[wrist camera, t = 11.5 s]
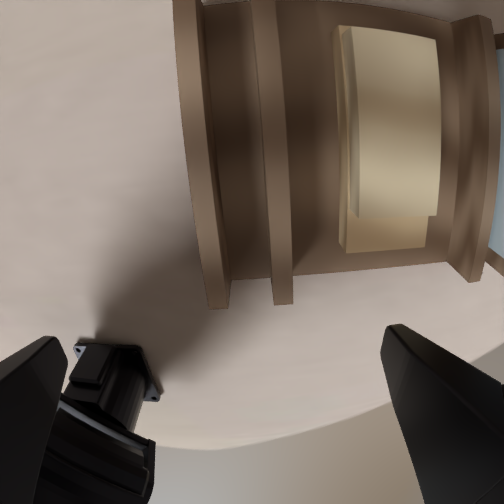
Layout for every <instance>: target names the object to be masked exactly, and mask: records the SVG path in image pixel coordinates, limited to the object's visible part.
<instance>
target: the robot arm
mask: <svg viewBox="0 0 504 504" xmlns="http://www.w3.org/2000/svg"><path fill="white" fill-rule="evenodd" d="M73 349H74V352H75V354H76V356H77V358H78V362H77V364H76V366H75V367H74V369H73V371H72V373H71V374H70V376H69V380H70V382H69V384H68V385H67V387H66V389H65V391H64V393H61V391H62V386H63V382H64V378H65V374H66V370H67V367H68V360H67V357H66V355H65V353H64V351H63V348H62V346H61V344H60V342H59V340H58V339H57V338H56V337H54V336H43V337H41V338H40V339H38V340H36V341H34V342H33V343H31V344H29V345H28V346H26V347H24V348H23V349H21V350H19V351H18V352H16V353H14V354H13V355H11V356H9V357H8V358H6V359H4V360H3V361H1V362H0V504H147V503H148V501H149V499H150V496H151V494H152V490H153V486H154V469H155V445H156V442H155V441H153V440H150V439H146V438H143V437H141V436H139V435H137V434H135V433H134V429H135V426H136V423H137V419H138V416H139V413H140V409H141V406H142V403H143V401H152V402H158V401H159V400H160V393H159V391H158V389H157V386H156V384H155V381H154V379H153V376H152V374H151V371H150V369H149V366H148V364H147V361H146V359H145V356H144V353H143V351H142V349H141V348H140V347H139V346H136V345H110V344H88V343H76V344H75V345H74V347H73ZM135 351H136V352H135ZM380 354H381V360H382V364H383V368H384V372H385V376H386V380H387V384H388V388H389V392H390V396H391V400H392V404H393V407H394V410H395V413H396V416H397V419H398V421H399V424H400V427H401V430H402V433H403V436H404V439H405V442H406V445H407V448H408V451H409V454H410V457H411V460H412V463H413V466H414V469H415V472H416V476H417V479H418V482H419V486H420V489H421V492H422V496H423V499H424V503H425V504H504V384H502V385H501V383H500V382H499V381H497V380H496V379H494V378H492V377H491V376H489V375H487V374H486V373H484V372H482V371H481V370H479V369H477V368H476V367H474V366H472V365H471V364H469V363H467V362H466V361H464V360H462V359H461V358H459V357H457V356H455V355H454V354H452V353H450V352H449V351H447V350H445V349H444V348H442V347H440V346H439V345H437V344H435V343H434V342H432V341H430V340H428V339H427V338H425V337H423V336H422V335H420V334H418V333H417V332H415V331H413V330H411V329H410V328H408V327H406V326H405V325H403V324H395V325H389V326H387V327H386V329H385V333H384V337H383V342H382V346H381V352H380Z"/></svg>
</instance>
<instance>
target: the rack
mask: <svg viewBox="0 0 504 504" xmlns="http://www.w3.org/2000/svg"><path fill="white" fill-rule="evenodd" d="M172 1H173V21H174V37H175V51H176V64H177V76H178V87H179V98H180V108H181V118H182V127H183V136H184V145H185V153H186V162H187V170H188V177H189V185H190V192H191V200H192V207H193V214H194V221H195V227H196V234H197V240H198V247H199V253H200V259H201V265H202V271H203V277H204V283H205V289H206V295H207V300H208V306H209V309H228V304H229V295H230V286H231V280H242V279H257V278H271V282H272V292H273V301H274V305H287V304H293V276H297V275H310V274H322V273H334V272H345V271H356V270H367V269H378V268H388V267H398V266H408V265H418V264H428V263H437V262H448V263H449V264H450V265H451V266H452V267H453V268H454V269H455V270H456V271H457V272H458V273H459V274H460V275H461V276H462V277H463V278H464V279H465V280H466V281H467V282H468V283H471V282H477V281H480V279H481V275H482V271H483V267H484V262H485V261H486V262H487V263H488V264H489V265H490V266H492V267H493V268H494V269H495V270H496V271H497V272H499V273H500V274H501V275H502V276H503V277H504V258H503V257H501V256H500V255H499V254H497V253H496V252H495V251H493V250H492V249H491V248H489V247H488V244H489V239H490V234H491V228H492V222H493V216H494V209H495V202H496V194H497V185H498V175H499V162H500V141H501V105H500V85H499V72H498V62H497V54H496V50H498V49H504V33H501V34H495V35H494V34H493V28H492V22H491V19H489V18H486V17H484V16H481V15H479V14H478V15H475V16H471V17H468V18H465V19H462V20H458V21H455V22H452V23H449V22H446V21H442V20H439V19H435V18H431V17H427V16H423V15H419V14H414V13H410V12H405V11H400V10H394V9H389V8H383V7H376V6H369V5H362V4H353V3H343V2H330V1H312V0H250V1H248V2H235V3H225V4H216V5H209V6H203V4H202V2H201V0H172ZM338 25H343V26H355V27H365V28H373V29H381V30H388V31H394V32H400V33H406V34H411V35H417V36H421V37H426V38H430V39H434V40H435V41H436V49H437V58H438V68H439V81H440V98H441V163H440V181H439V194H438V205H437V214H436V216H428V225H427V233H426V241H425V247H421V248H409V249H397V250H384V251H372V252H359V253H345V251H344V250H343V248H342V246H341V245H340V243H339V208H340V177H339V135H338V113H337V96H336V82H335V69H334V58H333V48H332V39H331V32H332V31H333V30H334V29H335V28H336V27H337V26H338Z"/></svg>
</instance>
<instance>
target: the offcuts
mask: <svg viewBox="0 0 504 504" xmlns="http://www.w3.org/2000/svg"><path fill="white" fill-rule="evenodd" d="M331 39H332V48H333V58H334V69H335V82H336V96H337V113H338V135H339V177H340V208H339V243H340V245H341V246H342V248H343V250H344V251H345V253H359V252H372V251H384V250H397V249H409V248H421V247H425V241H426V233H427V225H428V216H436V214H437V205H438V194H439V181H440V163H441V98H440V81H439V68H438V58H437V49H436V41H435V40H434V39H430V38H426V37H421V36H417V35H411V34H406V33H400V32H394V31H388V30H381V29H373V28H365V27H355V26H343V25H338V26H337V27H336V28H335V29H334V30H333V31H332V32H331Z"/></svg>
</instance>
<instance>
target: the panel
mask: <svg viewBox="0 0 504 504" xmlns="http://www.w3.org/2000/svg"><path fill="white" fill-rule="evenodd" d="M496 54H497V62H498V72H499V85H500V105H501V141H500V162H499V175H498V185H497V194H496V202H495V209H494V216H493V222H492V228H491V234H490V239H489V244H488V247H489V248H491V249H492V250H493V251H495V252H496V253H497V254H499V255H500V256H501V257H503V258H504V49H498V50H496Z"/></svg>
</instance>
